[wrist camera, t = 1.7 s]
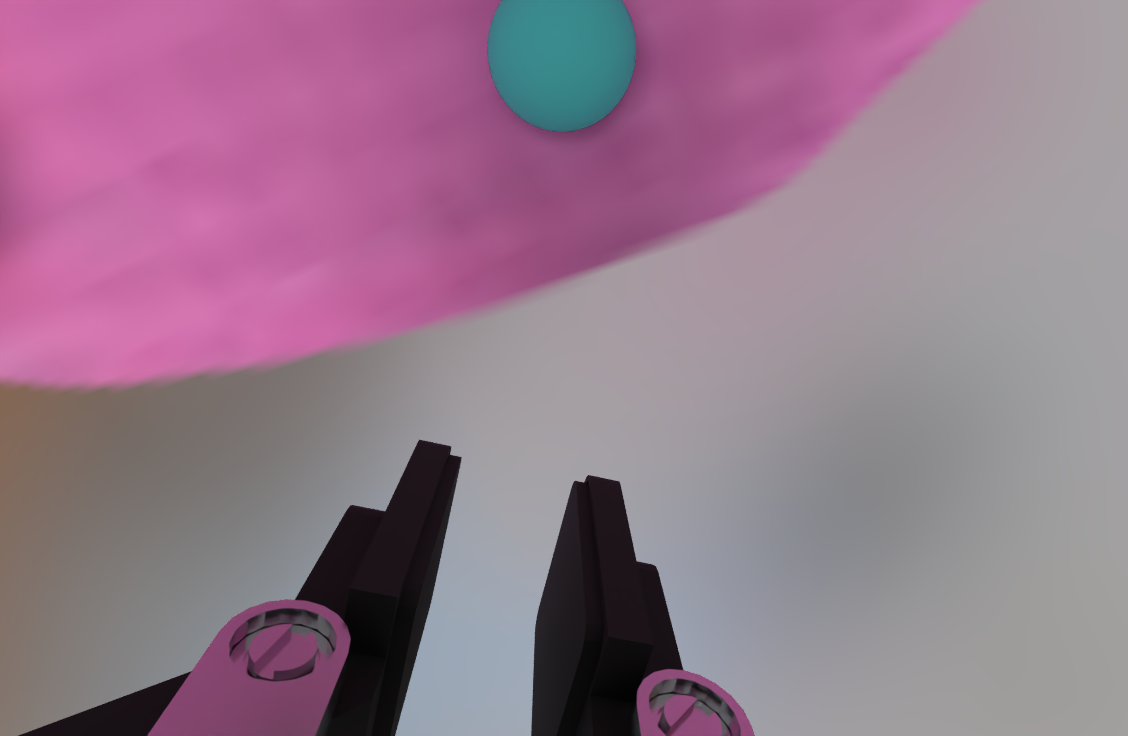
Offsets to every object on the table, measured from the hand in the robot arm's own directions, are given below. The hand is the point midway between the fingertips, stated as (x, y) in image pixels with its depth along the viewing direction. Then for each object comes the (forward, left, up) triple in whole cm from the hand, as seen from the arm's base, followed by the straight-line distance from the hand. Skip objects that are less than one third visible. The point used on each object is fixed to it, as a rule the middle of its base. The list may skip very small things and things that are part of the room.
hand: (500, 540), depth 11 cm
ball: (-9, -1, -15) cm, 17 cm away
